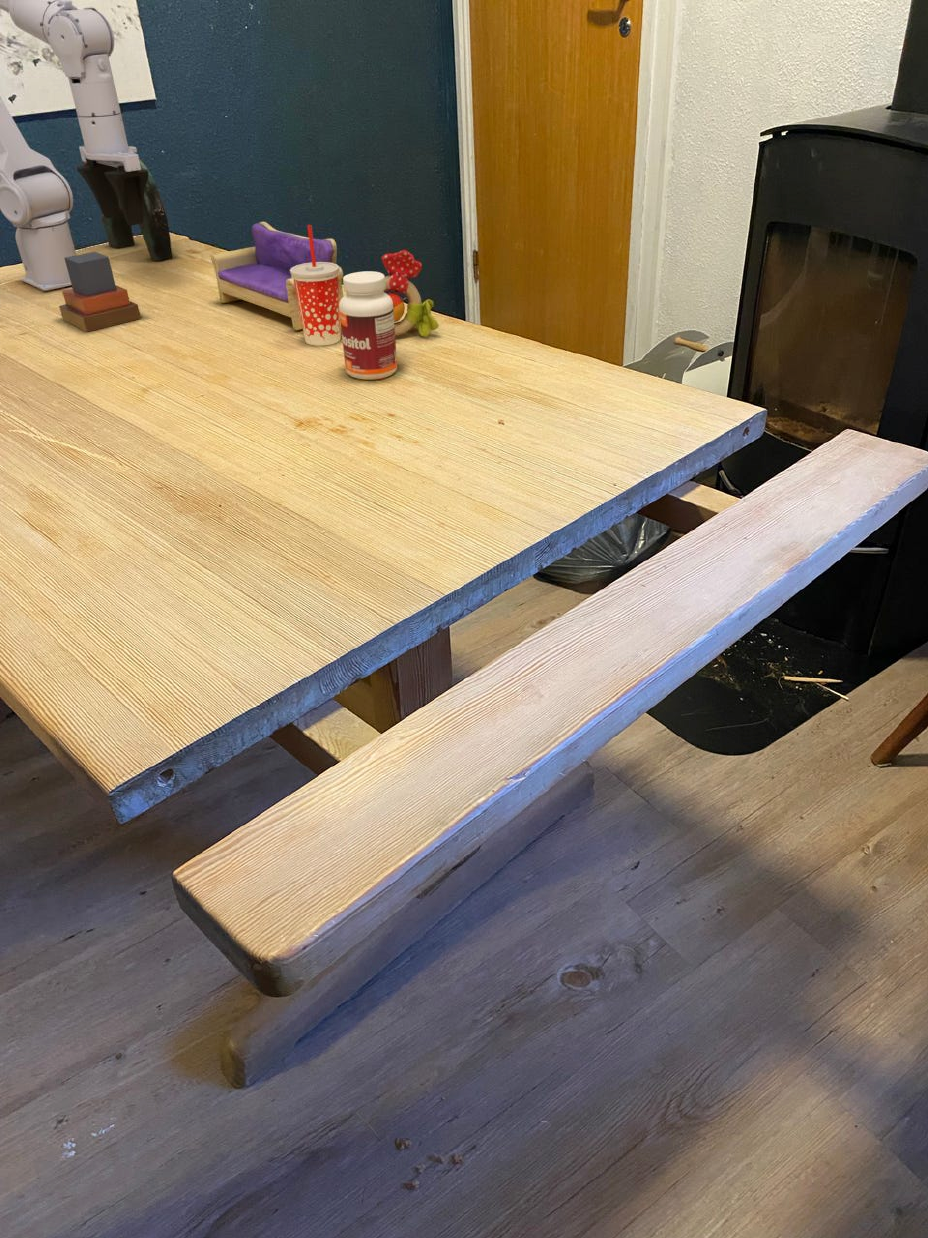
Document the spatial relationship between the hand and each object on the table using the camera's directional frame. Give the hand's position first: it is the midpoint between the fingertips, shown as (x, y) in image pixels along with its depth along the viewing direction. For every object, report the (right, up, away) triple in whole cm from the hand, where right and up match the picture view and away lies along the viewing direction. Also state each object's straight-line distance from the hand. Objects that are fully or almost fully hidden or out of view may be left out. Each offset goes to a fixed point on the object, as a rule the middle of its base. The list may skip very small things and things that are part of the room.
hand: (123, 220), depth 132 cm
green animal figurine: (-7, +7, +28) cm, 30 cm away
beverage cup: (+31, -22, -14) cm, 41 cm away
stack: (-2, -16, -4) cm, 16 cm away
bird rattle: (+42, -22, -14) cm, 49 cm away
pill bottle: (+39, -29, -24) cm, 54 cm away
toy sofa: (+24, -14, -3) cm, 28 cm away
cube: (-2, -13, -7) cm, 14 cm away
